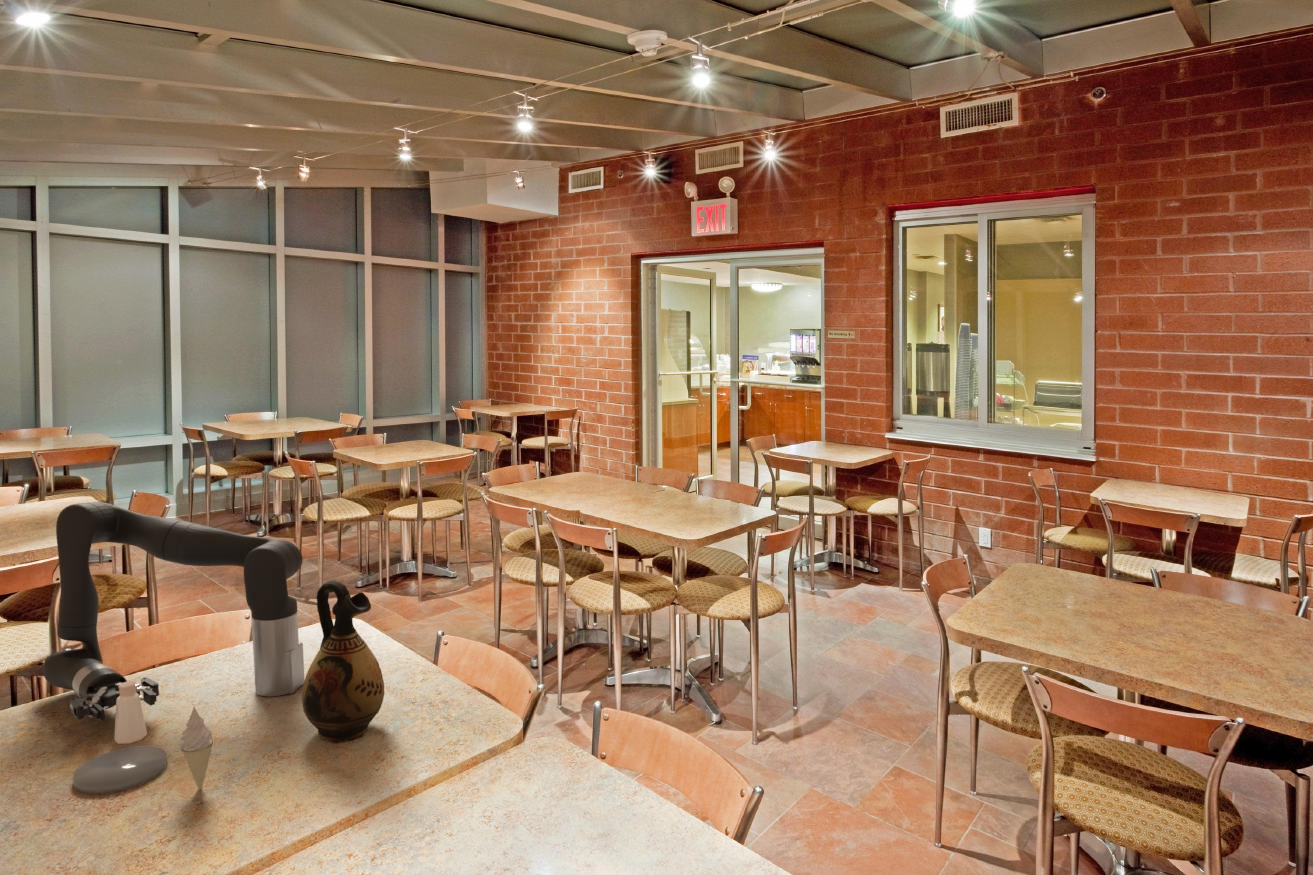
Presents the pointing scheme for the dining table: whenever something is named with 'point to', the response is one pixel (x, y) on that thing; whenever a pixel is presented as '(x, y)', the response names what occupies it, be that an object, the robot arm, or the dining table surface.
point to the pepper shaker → (129, 715)
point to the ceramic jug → (342, 671)
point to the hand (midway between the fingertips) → (128, 707)
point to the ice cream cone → (197, 747)
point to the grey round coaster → (120, 769)
